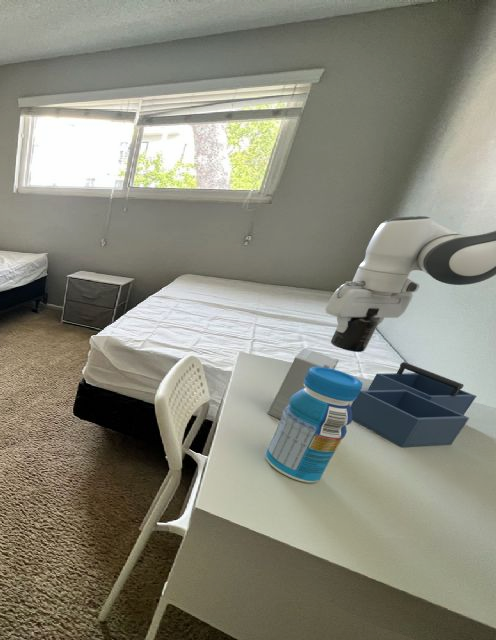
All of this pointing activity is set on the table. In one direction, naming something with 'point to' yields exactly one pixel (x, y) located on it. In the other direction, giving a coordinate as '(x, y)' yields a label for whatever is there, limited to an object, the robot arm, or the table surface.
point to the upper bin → (426, 387)
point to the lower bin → (407, 418)
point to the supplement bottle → (357, 332)
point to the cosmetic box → (298, 378)
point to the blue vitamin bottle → (313, 424)
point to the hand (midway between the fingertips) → (354, 331)
